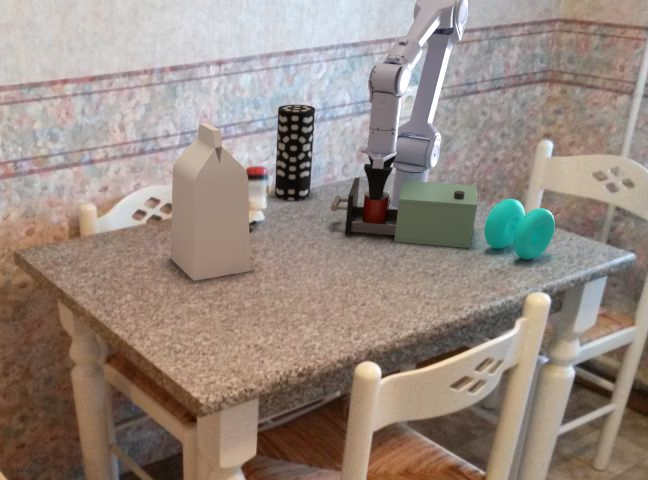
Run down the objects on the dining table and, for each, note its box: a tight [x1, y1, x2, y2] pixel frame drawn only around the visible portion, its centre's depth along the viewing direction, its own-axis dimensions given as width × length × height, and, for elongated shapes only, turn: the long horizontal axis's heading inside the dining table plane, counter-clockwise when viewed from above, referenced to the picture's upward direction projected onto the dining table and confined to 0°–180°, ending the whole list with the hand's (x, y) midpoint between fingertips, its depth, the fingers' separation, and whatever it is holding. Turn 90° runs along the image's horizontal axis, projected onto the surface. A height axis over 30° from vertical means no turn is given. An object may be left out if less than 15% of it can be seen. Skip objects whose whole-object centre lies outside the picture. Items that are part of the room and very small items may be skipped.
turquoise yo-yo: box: [483, 198, 556, 261], centre depth 159 cm, size 10×10×10 cm
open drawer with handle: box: [330, 177, 398, 236], centre depth 171 cm, size 13×18×8 cm
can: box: [362, 191, 390, 224], centre depth 171 cm, size 5×5×6 cm
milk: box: [170, 122, 251, 282], centre depth 150 cm, size 12×12×26 cm
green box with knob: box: [393, 181, 478, 249], centre depth 168 cm, size 13×15×10 cm
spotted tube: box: [274, 104, 316, 201], centre depth 189 cm, size 8×8×20 cm
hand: (376, 194), depth 169 cm, fingers open, 7 cm apart
